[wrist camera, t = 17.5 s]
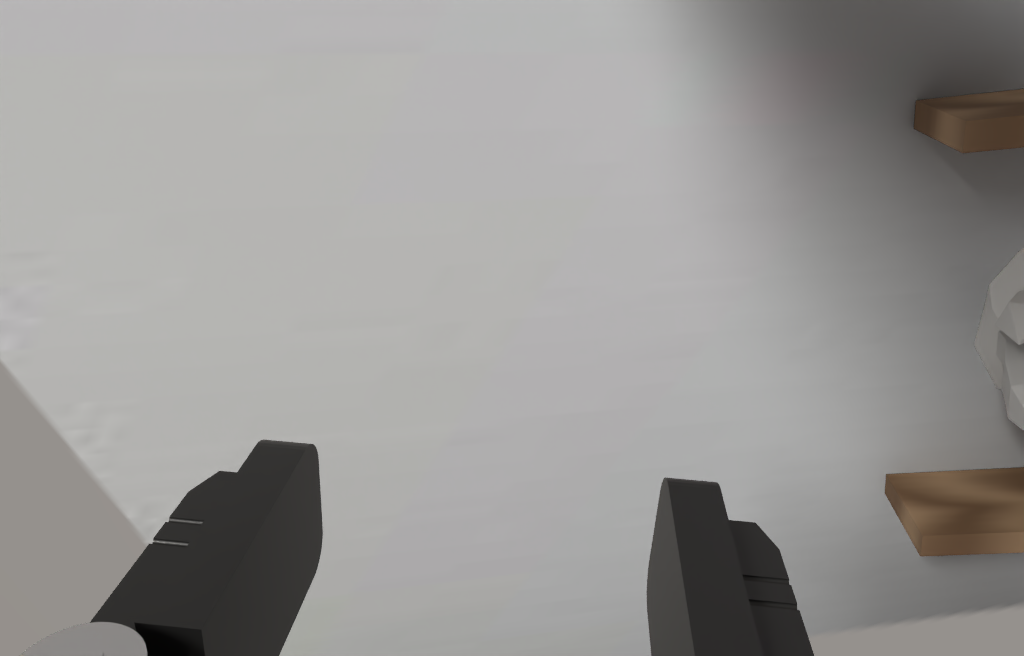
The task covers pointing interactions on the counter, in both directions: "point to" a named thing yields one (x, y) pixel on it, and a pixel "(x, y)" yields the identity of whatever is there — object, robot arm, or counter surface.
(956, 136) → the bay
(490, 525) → the counter surface
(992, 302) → the crystal
